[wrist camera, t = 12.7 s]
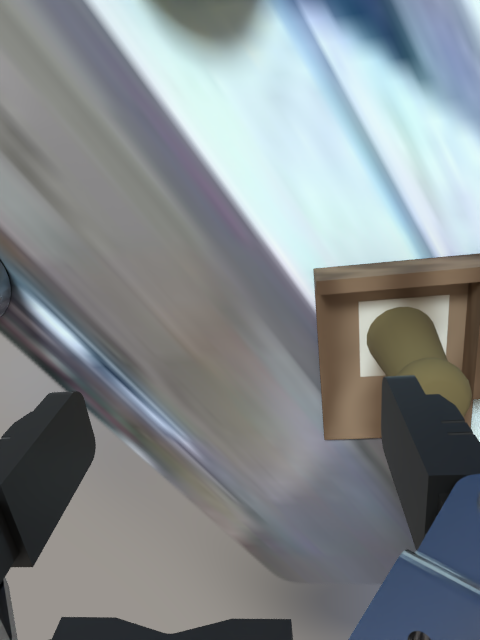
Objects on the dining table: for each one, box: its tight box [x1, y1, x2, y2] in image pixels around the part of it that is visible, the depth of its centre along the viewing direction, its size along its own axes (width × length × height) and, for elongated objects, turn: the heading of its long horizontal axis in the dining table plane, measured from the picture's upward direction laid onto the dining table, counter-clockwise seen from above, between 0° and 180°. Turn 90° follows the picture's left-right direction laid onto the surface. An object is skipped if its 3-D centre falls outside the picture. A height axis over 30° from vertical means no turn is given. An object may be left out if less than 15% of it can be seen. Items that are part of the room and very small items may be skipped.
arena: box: [314, 254, 480, 440], centre depth 40 cm, size 14×18×4 cm
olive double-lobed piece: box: [367, 307, 472, 417], centre depth 35 cm, size 6×6×11 cm
